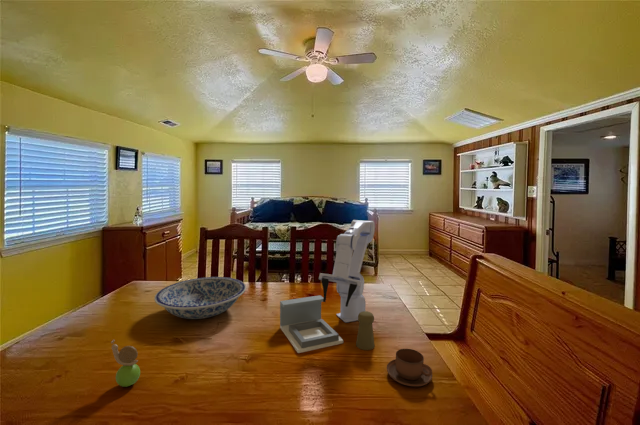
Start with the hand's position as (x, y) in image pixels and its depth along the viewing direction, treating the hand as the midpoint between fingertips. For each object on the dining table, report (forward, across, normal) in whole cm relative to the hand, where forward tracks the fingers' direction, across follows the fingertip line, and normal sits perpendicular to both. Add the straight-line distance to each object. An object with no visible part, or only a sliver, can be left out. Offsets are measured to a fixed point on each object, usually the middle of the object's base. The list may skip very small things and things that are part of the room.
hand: (335, 303), depth 105 cm
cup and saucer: (+17, +23, -12) cm, 31 cm away
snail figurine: (+34, -49, -19) cm, 62 cm away
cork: (+11, +12, +2) cm, 16 cm away
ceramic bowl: (+11, -52, +21) cm, 58 cm away
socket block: (+11, -6, +7) cm, 15 cm away
